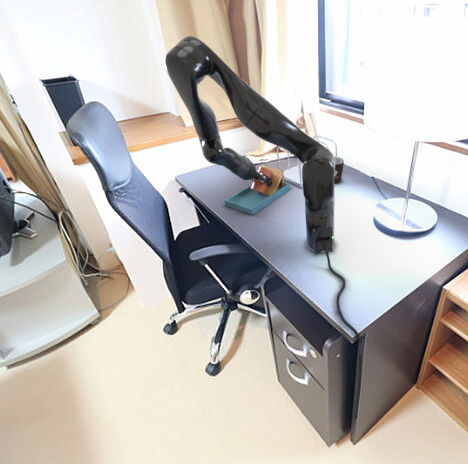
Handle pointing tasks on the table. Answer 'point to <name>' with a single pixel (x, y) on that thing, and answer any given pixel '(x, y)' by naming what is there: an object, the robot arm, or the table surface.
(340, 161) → the coffee mug
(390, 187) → the table surface
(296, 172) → the file sorter
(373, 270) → the table surface
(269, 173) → the orange cylinder
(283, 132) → the robot arm
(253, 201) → the tray
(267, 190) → the wooden stand
